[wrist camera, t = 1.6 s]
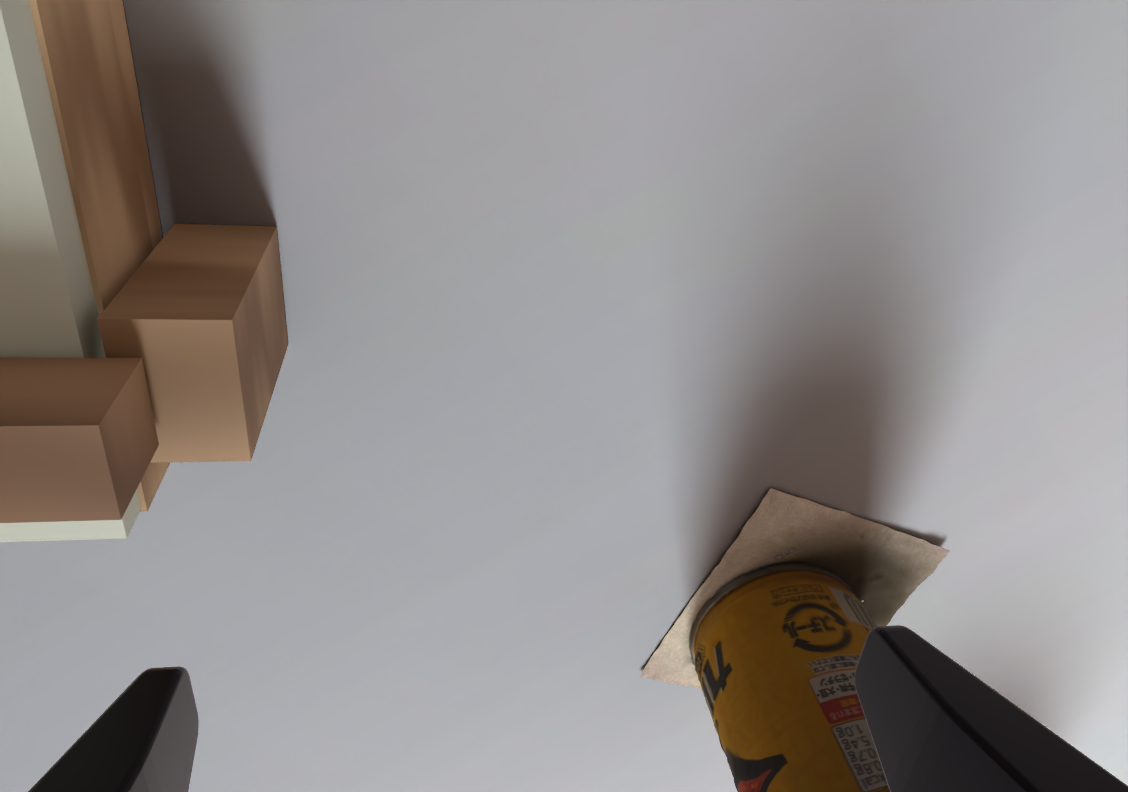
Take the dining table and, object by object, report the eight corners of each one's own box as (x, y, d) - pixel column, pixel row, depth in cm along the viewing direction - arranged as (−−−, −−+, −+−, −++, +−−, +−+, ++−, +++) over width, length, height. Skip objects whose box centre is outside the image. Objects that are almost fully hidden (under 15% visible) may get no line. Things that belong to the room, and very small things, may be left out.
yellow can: (638, 671, 28) (760, 1099, 18) (768, 484, 25) (1008, 881, 15) (805, 709, 31) (996, 1106, 20) (944, 544, 27) (1256, 920, 17)
